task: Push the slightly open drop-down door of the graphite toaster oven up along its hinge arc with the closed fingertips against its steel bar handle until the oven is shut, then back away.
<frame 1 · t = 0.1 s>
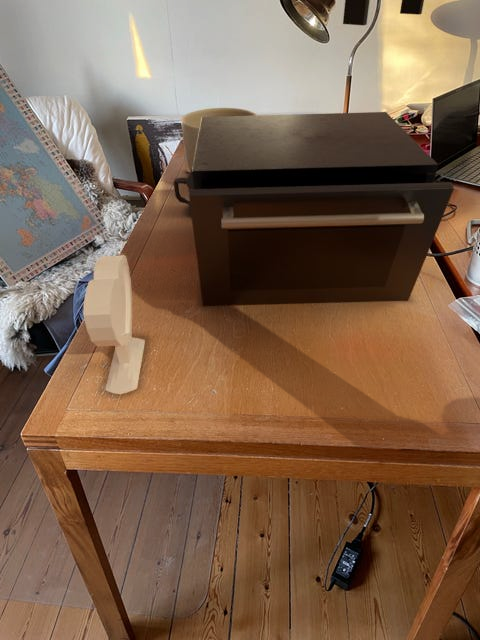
hand: (384, 19, 57), 47 cm above the table, tool pointing down, fingers open, 13 cm apart
oven: (295, 256, 103), on the table
planter: (222, 185, 136), on the table
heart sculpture: (126, 364, 77), on the table
photo printer: (198, 168, 147), on the table
mug: (199, 211, 122), on the table
oven door: (313, 259, 78), point 12 cm above the table, hinge at 12.7°
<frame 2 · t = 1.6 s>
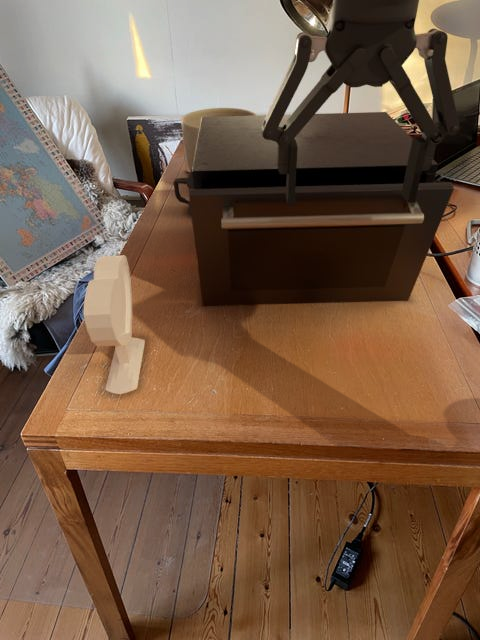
hand: (348, 199, 53), 31 cm above the table, tool pointing down, fingers open, 13 cm apart
nothing on the table moved.
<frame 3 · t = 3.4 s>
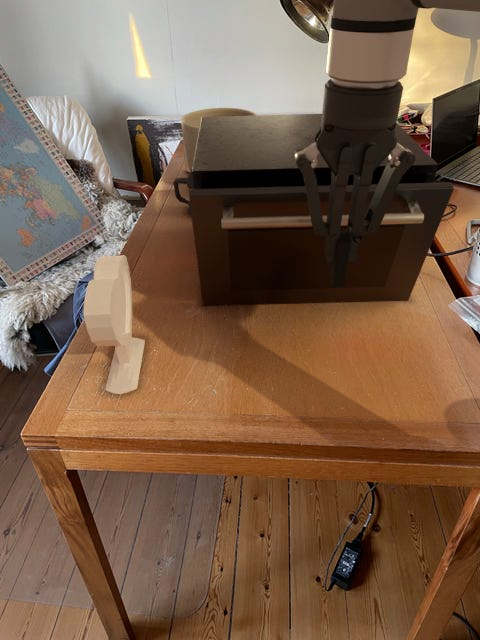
hand: (336, 281, 59), 20 cm above the table, tool pointing down, fingers closed
nothing on the table moved.
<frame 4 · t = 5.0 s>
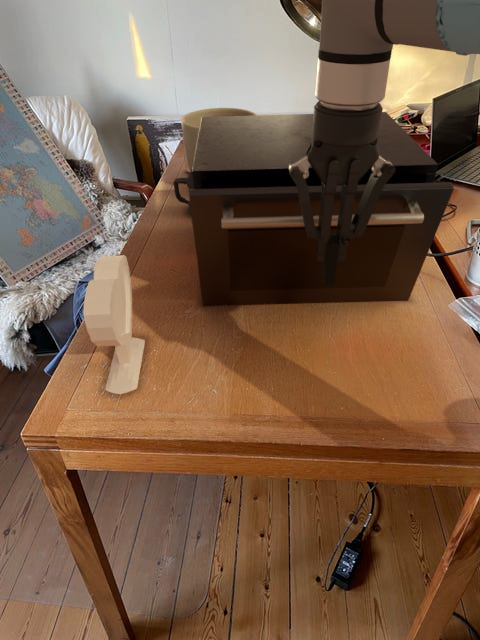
hand: (327, 279, 65), 17 cm above the table, tool pointing down, fingers closed
nothing on the table moved.
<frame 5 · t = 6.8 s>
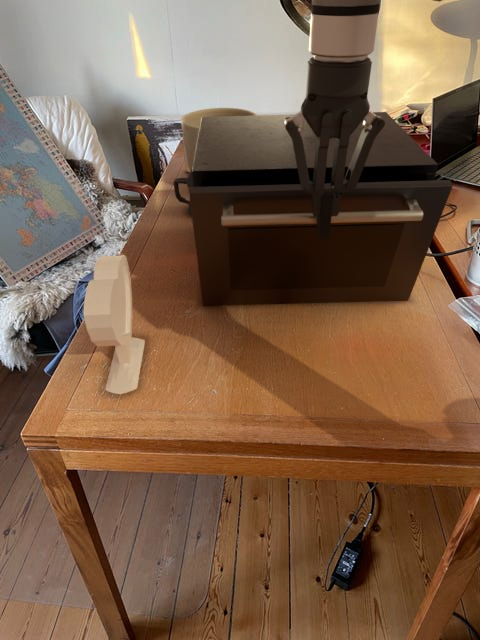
hand: (322, 235, 69), 20 cm above the table, tool pointing down, fingers closed
oven door: (313, 257, 78), point 12 cm above the table, hinge at 11.3°, touching gripper
everything else where it was.
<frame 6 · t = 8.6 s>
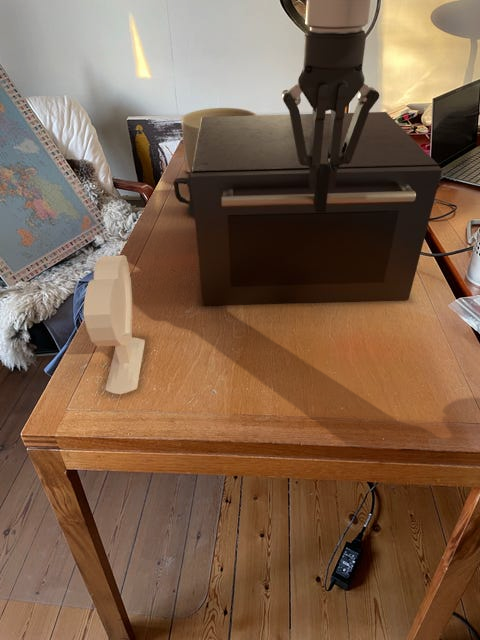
hand: (319, 208, 71), 22 cm above the table, tool pointing down, fingers closed
oven door: (311, 247, 80), point 13 cm above the table, hinge at 0.2°, touching gripper
everything else where it was.
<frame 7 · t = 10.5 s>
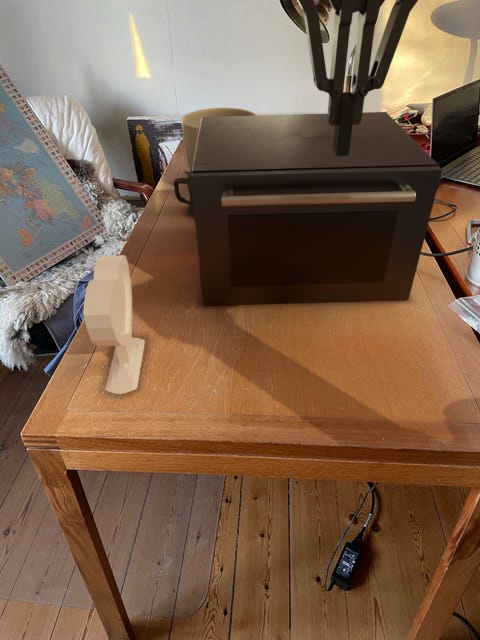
hand: (340, 152, 56), 34 cm above the table, tool pointing down, fingers closed
oven door: (311, 247, 80), point 13 cm above the table, hinge at 0.2°
everything else where it was.
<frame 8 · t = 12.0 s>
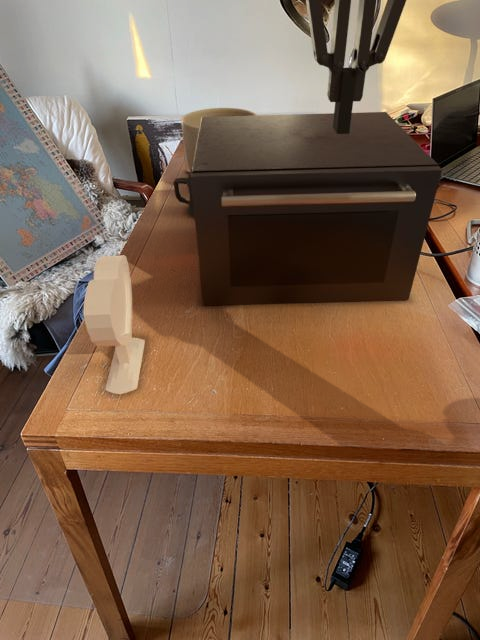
hand: (340, 130, 55), 36 cm above the table, tool pointing down, fingers closed
nothing on the table moved.
at the end: oven door at +0° (first picture: +13°) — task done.
